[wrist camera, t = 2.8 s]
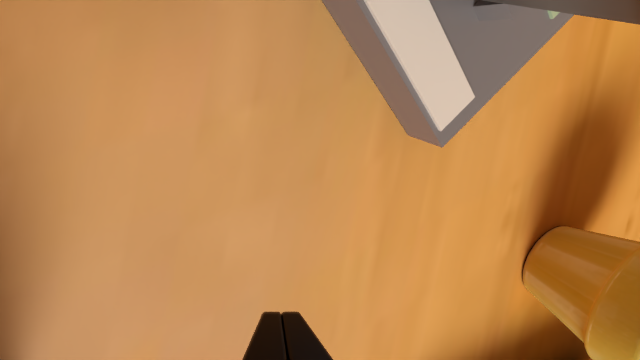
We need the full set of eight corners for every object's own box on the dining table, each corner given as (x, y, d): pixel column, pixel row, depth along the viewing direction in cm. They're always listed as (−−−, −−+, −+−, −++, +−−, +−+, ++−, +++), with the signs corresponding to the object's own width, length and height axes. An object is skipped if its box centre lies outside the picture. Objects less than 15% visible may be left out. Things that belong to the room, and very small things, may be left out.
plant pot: (603, 230, 36) (743, 288, 28) (542, 320, 37) (660, 402, 28) (557, 185, 31) (713, 239, 22) (486, 290, 31) (613, 382, 23)
